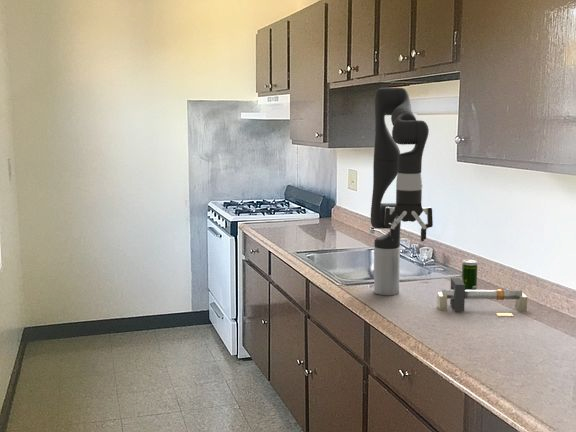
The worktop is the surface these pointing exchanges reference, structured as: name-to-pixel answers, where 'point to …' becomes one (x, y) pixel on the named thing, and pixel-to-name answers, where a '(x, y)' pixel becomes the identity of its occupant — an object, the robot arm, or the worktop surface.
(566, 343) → the worktop surface
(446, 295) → the pipe
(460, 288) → the collar
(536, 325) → the worktop surface
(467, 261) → the beer can
